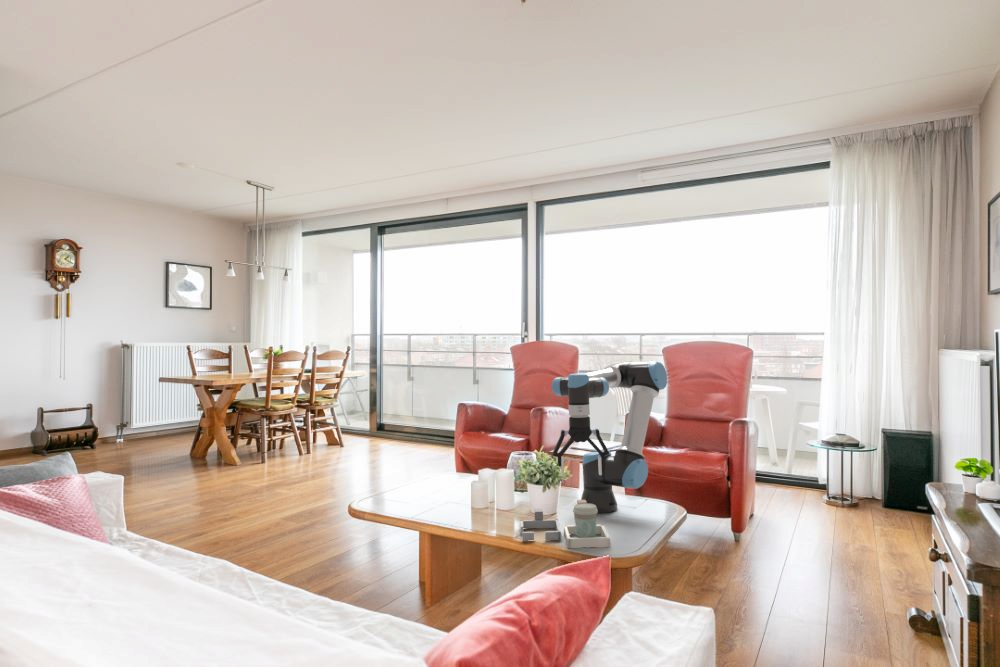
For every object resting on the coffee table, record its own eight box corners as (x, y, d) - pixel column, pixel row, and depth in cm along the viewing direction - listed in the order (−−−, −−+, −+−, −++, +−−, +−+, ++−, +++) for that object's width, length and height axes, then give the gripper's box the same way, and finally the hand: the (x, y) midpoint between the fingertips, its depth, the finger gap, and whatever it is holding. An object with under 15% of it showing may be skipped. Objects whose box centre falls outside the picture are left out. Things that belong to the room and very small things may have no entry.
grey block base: (520, 525, 226) (519, 509, 226) (557, 524, 226) (556, 508, 226) (521, 541, 207) (520, 524, 207) (561, 540, 207) (560, 523, 207)
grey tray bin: (563, 530, 218) (562, 500, 218) (601, 529, 217) (600, 499, 218) (568, 548, 199) (566, 514, 199) (610, 547, 198) (608, 513, 199)
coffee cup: (568, 540, 206) (567, 505, 207) (586, 535, 212) (585, 501, 212) (586, 546, 200) (585, 510, 200) (604, 541, 205) (602, 505, 205)
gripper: (545, 418, 213) (547, 478, 212) (615, 416, 213) (617, 476, 212) (544, 416, 220) (546, 473, 220) (612, 414, 220) (614, 471, 220)
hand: (581, 475), depth 216 cm, fingers open, 13 cm apart
